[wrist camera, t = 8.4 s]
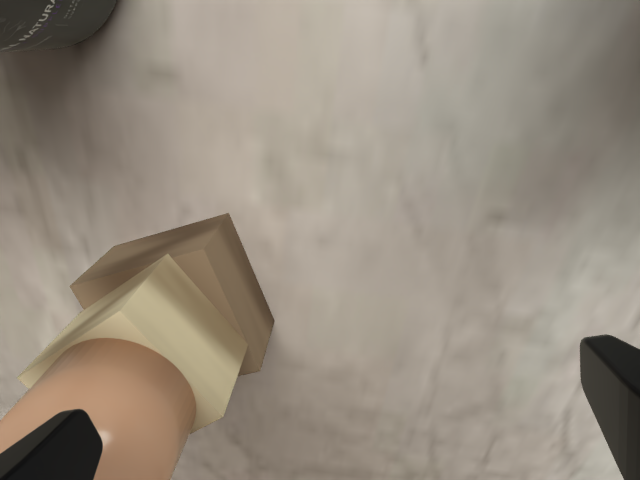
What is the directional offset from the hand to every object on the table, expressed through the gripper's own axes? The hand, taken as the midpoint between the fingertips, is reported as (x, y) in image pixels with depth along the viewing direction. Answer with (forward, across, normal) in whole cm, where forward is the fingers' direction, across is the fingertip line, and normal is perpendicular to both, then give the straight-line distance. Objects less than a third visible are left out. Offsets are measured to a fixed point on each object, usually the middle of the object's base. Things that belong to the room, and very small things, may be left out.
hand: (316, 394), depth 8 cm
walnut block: (+13, +8, +4) cm, 16 cm away
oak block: (+9, +8, +4) cm, 13 cm away
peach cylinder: (+5, +8, +4) cm, 10 cm away
